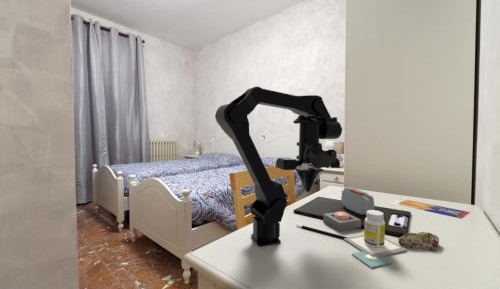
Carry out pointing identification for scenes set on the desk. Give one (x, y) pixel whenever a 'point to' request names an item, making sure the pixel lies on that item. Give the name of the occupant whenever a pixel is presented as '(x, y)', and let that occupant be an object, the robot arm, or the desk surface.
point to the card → (371, 259)
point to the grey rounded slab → (357, 200)
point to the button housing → (342, 222)
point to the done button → (341, 216)
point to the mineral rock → (419, 241)
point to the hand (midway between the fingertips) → (307, 191)
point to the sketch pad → (386, 250)
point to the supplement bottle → (374, 228)
